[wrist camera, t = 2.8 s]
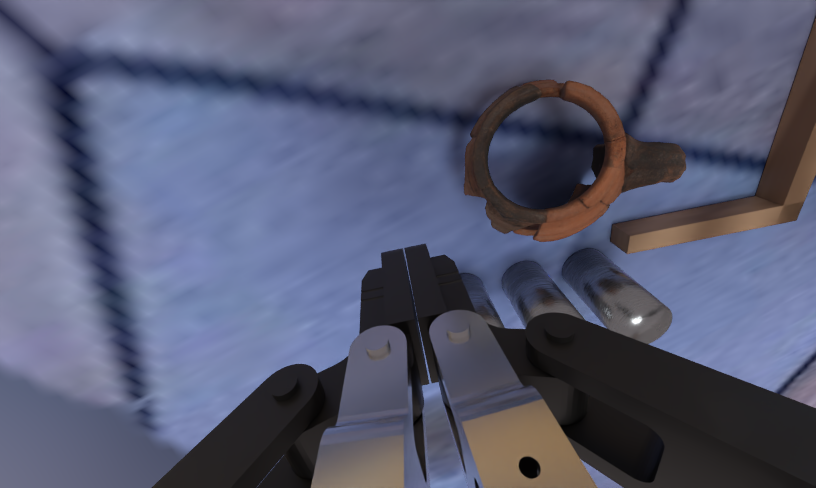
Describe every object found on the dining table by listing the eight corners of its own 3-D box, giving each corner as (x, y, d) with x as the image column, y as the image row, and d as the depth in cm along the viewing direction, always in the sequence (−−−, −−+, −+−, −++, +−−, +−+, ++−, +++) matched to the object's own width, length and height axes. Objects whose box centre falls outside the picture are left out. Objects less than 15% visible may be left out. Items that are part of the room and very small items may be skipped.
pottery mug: (475, 244, 26) (467, 254, 18) (461, 121, 26) (447, 76, 18) (652, 226, 23) (737, 228, 15) (640, 86, 23) (720, 13, 15)
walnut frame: (882, -102, 18) (938, -121, 16) (767, 210, 26) (796, 220, 24) (648, -54, 18) (678, -67, 16) (610, 241, 26) (627, 253, 24)
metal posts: (656, -154, 16) (833, -293, 10) (602, 280, 28) (666, 341, 22) (377, -97, 16) (379, -198, 10) (444, 312, 28) (463, 381, 22)
